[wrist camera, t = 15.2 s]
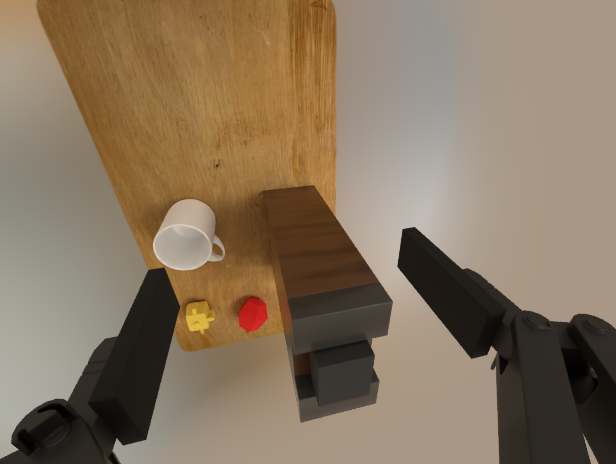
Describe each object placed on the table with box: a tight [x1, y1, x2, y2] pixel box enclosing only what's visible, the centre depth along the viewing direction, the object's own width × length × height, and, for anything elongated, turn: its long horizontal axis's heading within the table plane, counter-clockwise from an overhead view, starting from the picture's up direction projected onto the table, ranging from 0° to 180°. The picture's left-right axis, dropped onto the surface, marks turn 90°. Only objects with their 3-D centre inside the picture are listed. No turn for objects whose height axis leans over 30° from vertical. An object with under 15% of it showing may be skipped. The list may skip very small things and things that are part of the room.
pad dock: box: [263, 186, 393, 422], centre depth 45 cm, size 18×10×33 cm, turn 2°
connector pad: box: [309, 340, 375, 407], centre depth 31 cm, size 7×6×4 cm
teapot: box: [186, 301, 215, 334], centre depth 62 cm, size 8×6×5 cm
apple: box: [239, 298, 268, 333], centre depth 64 cm, size 7×7×8 cm
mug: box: [153, 199, 225, 270], centre depth 49 cm, size 9×12×11 cm
